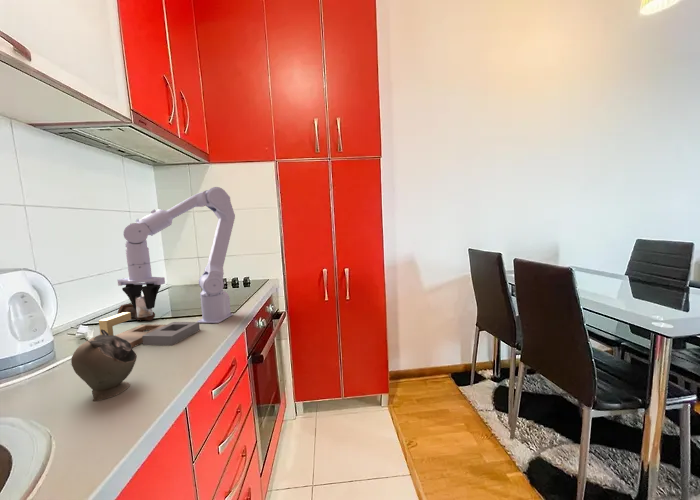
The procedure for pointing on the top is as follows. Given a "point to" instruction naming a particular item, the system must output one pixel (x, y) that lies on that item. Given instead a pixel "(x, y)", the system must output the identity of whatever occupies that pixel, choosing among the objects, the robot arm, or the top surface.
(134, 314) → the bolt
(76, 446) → the top surface
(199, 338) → the top surface
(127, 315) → the bar
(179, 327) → the frame
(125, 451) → the top surface
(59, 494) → the top surface
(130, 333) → the socket board
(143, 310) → the peg
